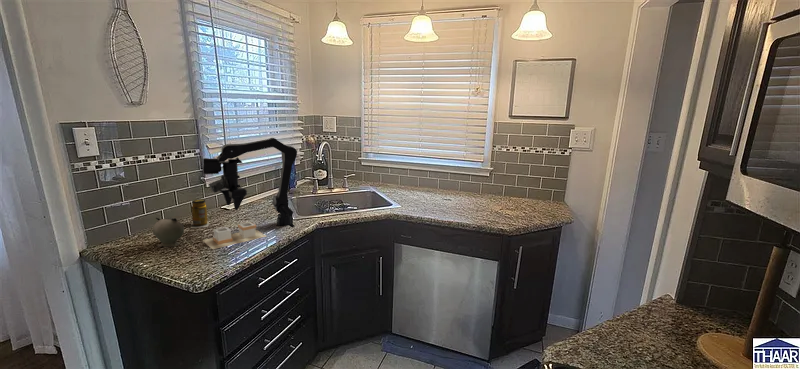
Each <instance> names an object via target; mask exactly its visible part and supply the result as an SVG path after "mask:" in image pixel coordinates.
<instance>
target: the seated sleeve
mask: <svg viewBox="0 0 800 369" xmlns="http://www.w3.org/2000/svg"><path fill="white" fill-rule="evenodd" d="M237 228H238V231H239V235H240V236H241V237H243V238H248V237H253V236H256V231H255V229H257V225H256V224H255V223H253V222H251V221H249V222H244V223H238V224H237Z"/></svg>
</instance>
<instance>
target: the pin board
mask: <svg viewBox="0 0 800 369" xmlns="http://www.w3.org/2000/svg"><path fill="white" fill-rule="evenodd" d="M255 231H256V236H253V237H248V238H243V237H241V236H240V235H239V232H235V233H231V238H232V239H233V241H231V242H227V243H223V244H217V243H216V242H214V241H213V238H214V237H210V238H206V239H202V240H201V241H202V242H203V243H205V245H207V246H208V247H209V248H210V249H212V250H215V249H221V248H224V247H228V246H232V245H235V244H241V243H245V242H249V241H254V240H258V239H262V238H266V237H267V235H266V234H264V233H262V232H261V231H260V230H258V229H257V228H255Z"/></svg>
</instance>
